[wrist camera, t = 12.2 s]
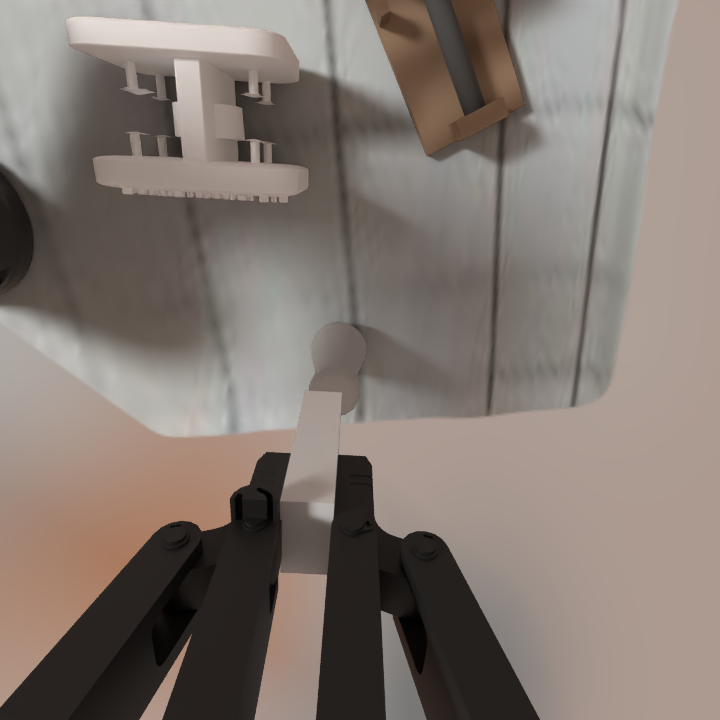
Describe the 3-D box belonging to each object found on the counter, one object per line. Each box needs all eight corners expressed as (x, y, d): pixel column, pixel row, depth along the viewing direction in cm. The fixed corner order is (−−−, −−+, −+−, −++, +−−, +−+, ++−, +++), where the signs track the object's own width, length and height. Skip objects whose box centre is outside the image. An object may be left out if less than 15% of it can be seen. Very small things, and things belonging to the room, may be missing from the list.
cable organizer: (312, 63, 39) (295, 26, 28) (310, 194, 43) (295, 205, 32) (135, 51, 38) (50, 9, 28) (151, 184, 43) (83, 192, 32)
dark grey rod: (488, 124, 39) (494, 123, 37) (468, 134, 39) (473, 133, 37) (396, -150, 32) (398, -167, 30) (373, -134, 32) (374, -150, 30)
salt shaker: (375, 352, 50) (380, 413, 38) (328, 373, 51) (319, 439, 39) (351, 306, 47) (348, 355, 36) (303, 329, 48) (285, 384, 37)
